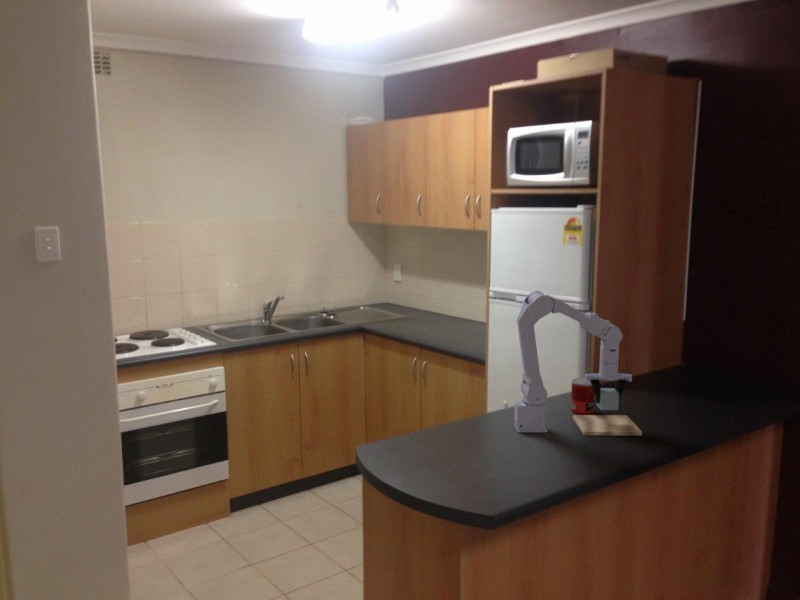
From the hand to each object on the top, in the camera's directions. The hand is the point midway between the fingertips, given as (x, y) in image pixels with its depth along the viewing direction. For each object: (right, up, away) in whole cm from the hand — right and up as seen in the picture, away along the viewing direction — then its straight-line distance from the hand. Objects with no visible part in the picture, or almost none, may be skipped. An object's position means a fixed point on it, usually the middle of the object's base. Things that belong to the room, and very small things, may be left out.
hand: (607, 402), depth 228 cm
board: (0, -8, +1) cm, 8 cm away
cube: (0, -2, 0) cm, 2 cm away
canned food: (-4, -6, +16) cm, 18 cm away
